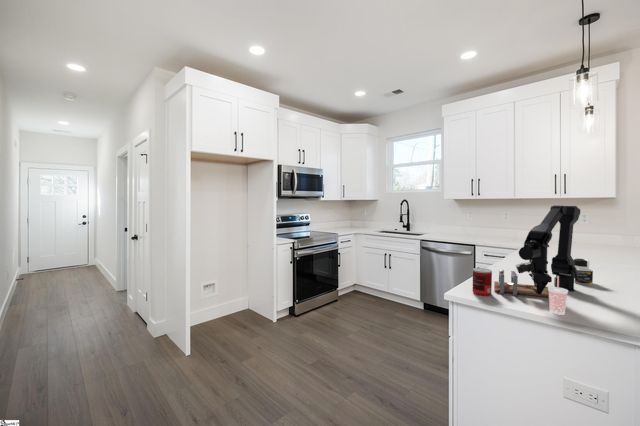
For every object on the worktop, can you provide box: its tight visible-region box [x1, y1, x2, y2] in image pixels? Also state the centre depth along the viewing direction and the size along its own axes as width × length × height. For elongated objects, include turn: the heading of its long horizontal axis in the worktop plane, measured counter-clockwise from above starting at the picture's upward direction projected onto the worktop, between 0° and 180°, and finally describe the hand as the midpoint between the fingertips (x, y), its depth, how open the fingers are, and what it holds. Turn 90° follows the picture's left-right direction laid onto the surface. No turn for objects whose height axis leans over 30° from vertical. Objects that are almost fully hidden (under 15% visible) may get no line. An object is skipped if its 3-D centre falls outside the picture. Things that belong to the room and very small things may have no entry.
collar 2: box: [510, 270, 519, 297], centre depth 136 cm, size 2×10×9 cm, turn 152°
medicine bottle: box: [573, 258, 594, 286], centre depth 152 cm, size 7×7×12 cm
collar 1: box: [498, 269, 505, 296], centre depth 138 cm, size 2×10×10 cm, turn 152°
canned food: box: [472, 267, 493, 297], centre depth 136 cm, size 8×8×11 cm
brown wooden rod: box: [493, 281, 549, 298], centre depth 135 cm, size 21×4×4 cm, turn 62°
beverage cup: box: [547, 276, 569, 316], centre depth 113 cm, size 6×6×14 cm
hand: (538, 292), depth 132 cm, fingers closed on brown wooden rod, 4 cm apart
